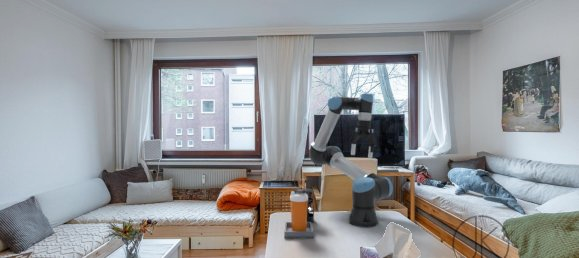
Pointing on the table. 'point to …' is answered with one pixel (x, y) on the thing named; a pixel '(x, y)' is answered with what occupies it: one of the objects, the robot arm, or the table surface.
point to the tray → (298, 234)
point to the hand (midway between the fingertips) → (361, 156)
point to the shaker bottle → (299, 210)
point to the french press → (309, 215)
